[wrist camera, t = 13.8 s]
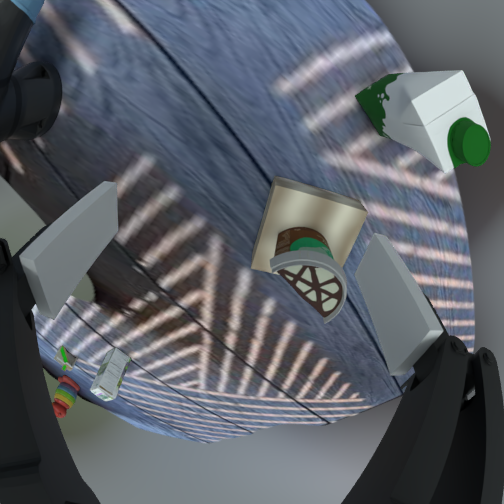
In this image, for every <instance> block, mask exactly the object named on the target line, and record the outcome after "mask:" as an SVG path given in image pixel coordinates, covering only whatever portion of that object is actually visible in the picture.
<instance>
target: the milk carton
mask: <svg viewBox="0 0 504 504" xmlns="http://www.w3.org/2000/svg"><path fill="white" fill-rule="evenodd" d="M355 97H356V99H357V100H358V102H359V103H360V105H361V106H362V108H363V109H364V111H365V112H366V114H367V115H368V117H369V118H370V120H371V122H372V123H373V125H374V127H375V128H376V130H377V132H378V133H379V135H380V136H383V137H387V138H390V139H392V140H394V141H396V142H399V143H401V144H403V145H405V146H407V147H409V148H411V149H413V150H415V151H417V152H418V153H420V154H421V155H422V156H424V157H425V158H426V159H428V160H429V161H430V162H431V163H433V164H434V165H435V166H436V167H437V168H439V169H440V170H441V171H442V172H443V173H445V174H446V173H447V172H449V171H450V170H451V169H452V168H456V167H457V166H458V165H460V164H463V163H468V164H470V165H472V166H480V165H482V164H483V163H485V161H486V160H487V158H488V156H489V153H490V146H491V144H490V136H489V134H488V130H487V127H486V124H485V121H484V118H483V115H482V112H481V110H480V107H479V103H478V101H477V98H476V96H475V94H474V93H473V92H472V90H471V87H470V85H469V83H468V81H467V78H466V76H465V74H464V72H463V71H462V70H459V71H438V72H437V71H436V72H417V73H416V72H414V73H397V74H389V75H387V76H385V77H383V78H382V79H380V80H378V81H377V82H375V83H373V84H372V85H370V86H369V87H367V88H366V89H364V90H363V91H361V92H360V93H358V94H357V95H355Z"/></svg>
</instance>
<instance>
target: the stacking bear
mask: <svg viewBox="0 0 504 504" xmlns="http://www.w3.org/2000/svg"><path fill="white" fill-rule="evenodd" d="M58 381H59V382H60V385H59V386H58V388H57V389H56V392H55V398H54V400H55V402H53V403H52V405H53V409H54V412H55V415H56V417H60V418H63V417H65V415H66V409H69V408H71V407H72V405H73V404H74V403H75V400H76V396H77V392H78V391H79V390H80V387H79V386H78V385H77V384H76V383H75V382H74V381H73V380H72V379H71V378H69V377H68V376H66V375H63V378H62V377H58Z"/></svg>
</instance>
